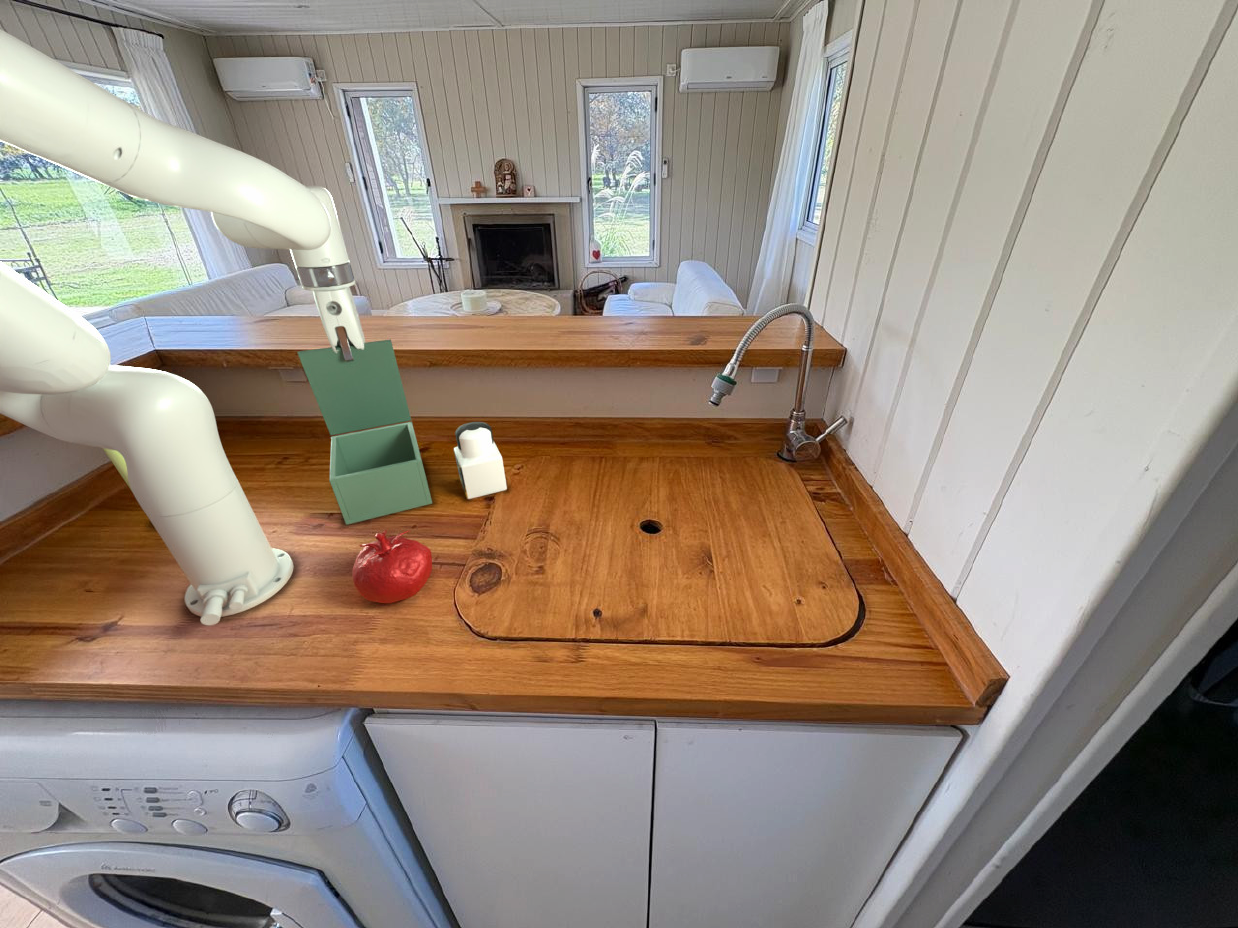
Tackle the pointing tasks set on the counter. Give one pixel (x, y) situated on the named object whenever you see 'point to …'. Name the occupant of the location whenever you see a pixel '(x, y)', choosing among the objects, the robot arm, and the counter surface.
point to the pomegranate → (391, 568)
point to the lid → (356, 386)
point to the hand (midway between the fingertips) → (359, 385)
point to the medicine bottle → (479, 460)
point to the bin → (377, 472)
